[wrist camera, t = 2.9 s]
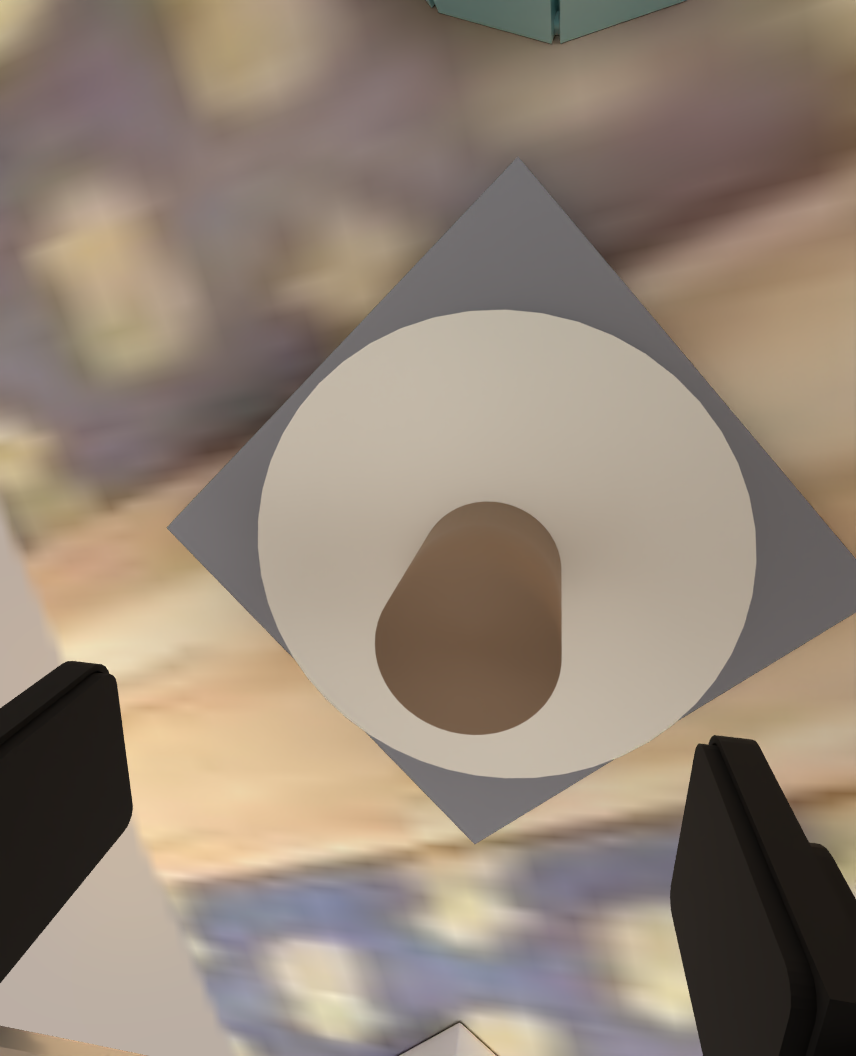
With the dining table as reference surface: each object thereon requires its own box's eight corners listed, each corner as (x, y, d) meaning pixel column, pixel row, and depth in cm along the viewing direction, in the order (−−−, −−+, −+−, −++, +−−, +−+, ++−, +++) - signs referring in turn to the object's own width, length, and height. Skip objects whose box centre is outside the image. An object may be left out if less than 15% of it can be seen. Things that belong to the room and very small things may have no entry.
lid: (856, 591, 18) (990, 715, 12) (475, 826, 23) (448, 994, 17) (516, 188, 17) (493, 122, 11) (186, 529, 21) (53, 604, 16)
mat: (877, 587, 18) (885, 594, 18) (476, 833, 23) (474, 844, 23) (519, 161, 17) (517, 156, 16) (175, 523, 22) (166, 528, 21)
